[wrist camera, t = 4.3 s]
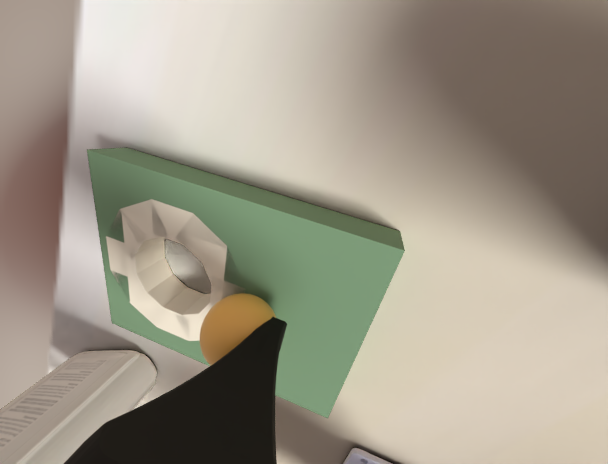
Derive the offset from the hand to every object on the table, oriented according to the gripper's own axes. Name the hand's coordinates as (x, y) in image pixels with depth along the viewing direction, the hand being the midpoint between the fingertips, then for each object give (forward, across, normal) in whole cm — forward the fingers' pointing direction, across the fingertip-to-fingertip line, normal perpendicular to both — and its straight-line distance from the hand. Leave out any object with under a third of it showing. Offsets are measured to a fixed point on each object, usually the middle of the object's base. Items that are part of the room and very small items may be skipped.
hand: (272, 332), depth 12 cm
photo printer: (+3, +14, +16) cm, 22 cm away
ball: (0, +1, 0) cm, 1 cm away
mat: (+3, +4, 0) cm, 5 cm away
